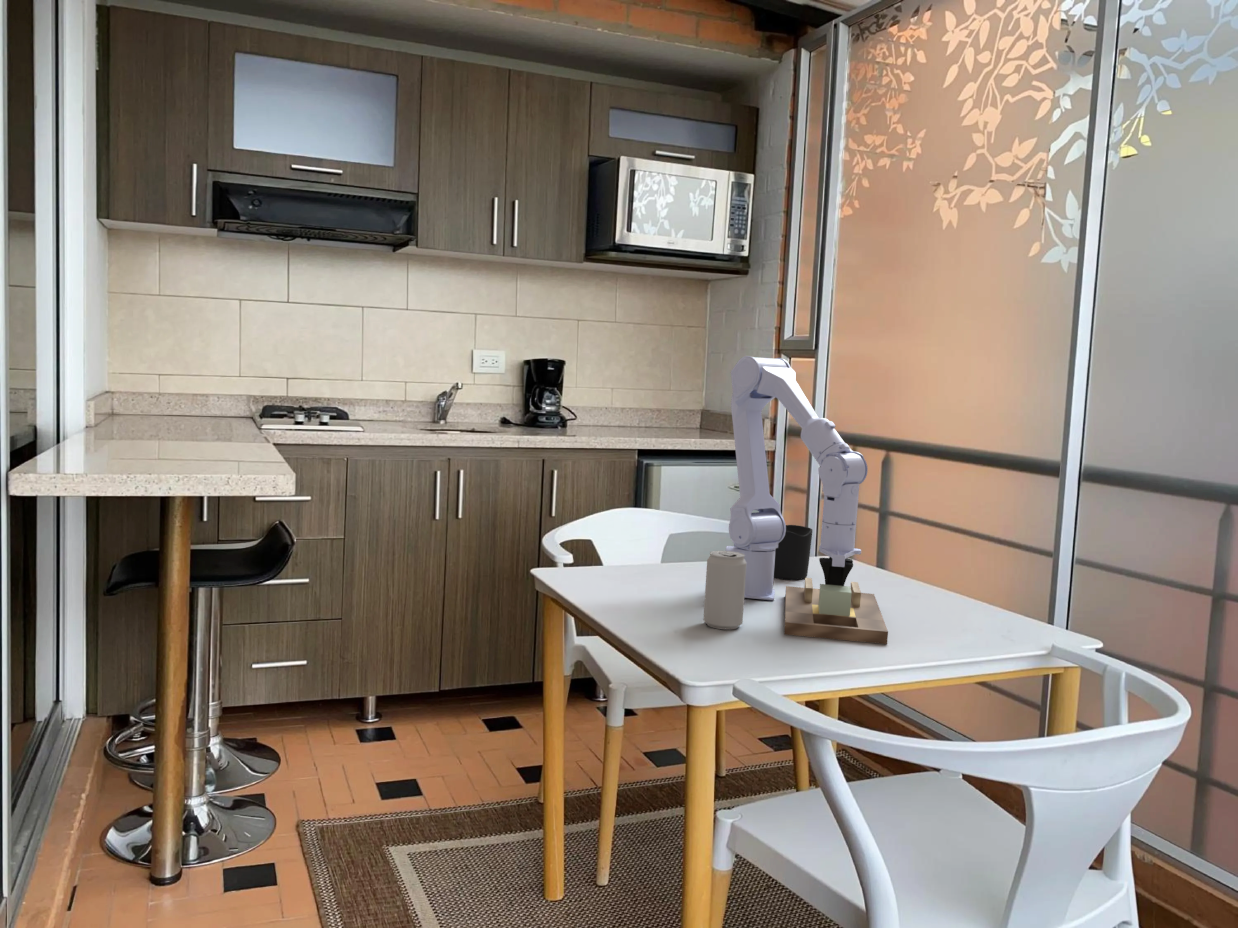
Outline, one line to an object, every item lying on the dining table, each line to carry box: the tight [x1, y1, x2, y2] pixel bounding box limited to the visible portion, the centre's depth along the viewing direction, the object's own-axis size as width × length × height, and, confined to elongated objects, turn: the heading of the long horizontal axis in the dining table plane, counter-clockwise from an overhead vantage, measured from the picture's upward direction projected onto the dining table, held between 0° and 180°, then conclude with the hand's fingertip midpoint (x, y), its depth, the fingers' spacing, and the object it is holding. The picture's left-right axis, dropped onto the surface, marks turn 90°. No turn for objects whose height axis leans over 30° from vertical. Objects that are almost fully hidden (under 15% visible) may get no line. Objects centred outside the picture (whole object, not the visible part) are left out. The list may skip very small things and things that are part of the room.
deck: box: [783, 577, 889, 645], centre depth 178 cm, size 16×28×4 cm, turn 171°
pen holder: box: [773, 524, 813, 581], centre depth 212 cm, size 9×9×10 cm
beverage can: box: [703, 550, 747, 631], centre depth 169 cm, size 6×6×12 cm
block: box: [818, 583, 852, 616], centre depth 174 cm, size 5×5×4 cm
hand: (833, 600), depth 178 cm, fingers closed
